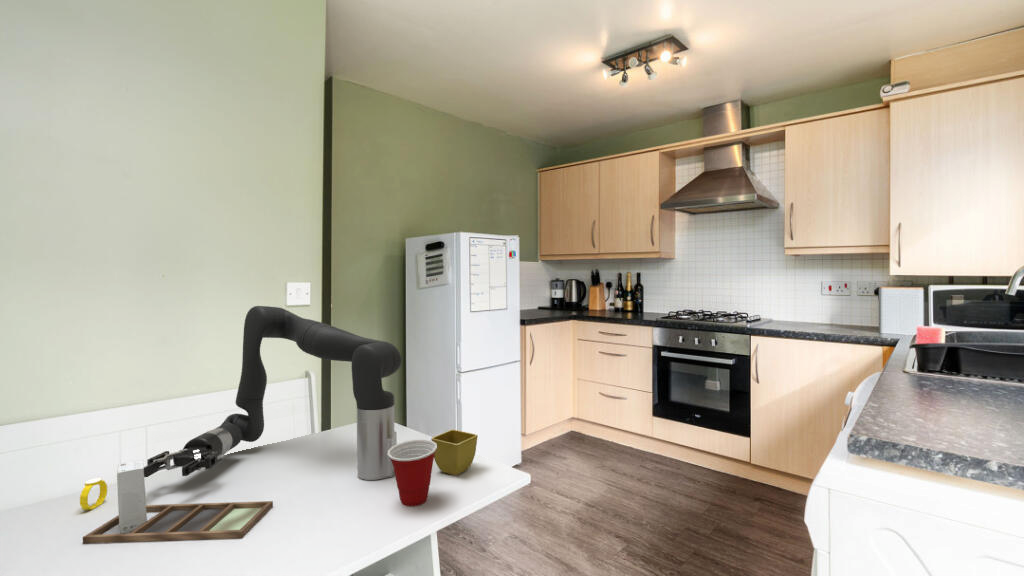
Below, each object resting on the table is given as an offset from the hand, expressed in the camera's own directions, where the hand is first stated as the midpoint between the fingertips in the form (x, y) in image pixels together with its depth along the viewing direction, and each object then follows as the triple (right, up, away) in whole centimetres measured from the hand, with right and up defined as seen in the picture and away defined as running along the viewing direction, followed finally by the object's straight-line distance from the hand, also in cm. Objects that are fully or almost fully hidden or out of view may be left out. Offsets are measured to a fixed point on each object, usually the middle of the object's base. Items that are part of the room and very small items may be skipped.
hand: (163, 472), depth 103 cm
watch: (-15, -7, -1) cm, 17 cm away
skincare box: (+1, -7, -9) cm, 12 cm away
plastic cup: (+55, -7, 0) cm, 56 cm away
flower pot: (+63, -6, +16) cm, 65 cm away
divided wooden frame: (+11, -7, -9) cm, 16 cm away
